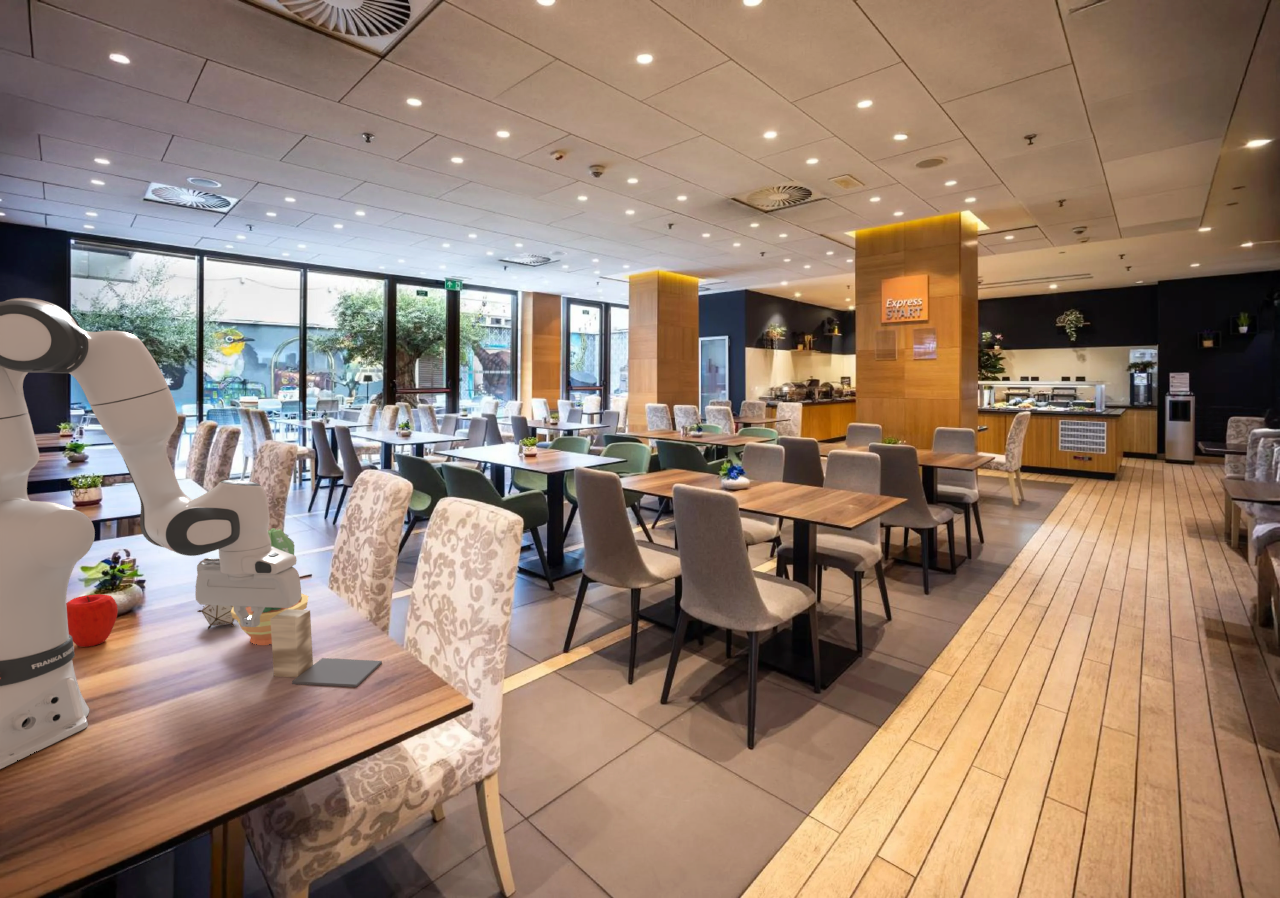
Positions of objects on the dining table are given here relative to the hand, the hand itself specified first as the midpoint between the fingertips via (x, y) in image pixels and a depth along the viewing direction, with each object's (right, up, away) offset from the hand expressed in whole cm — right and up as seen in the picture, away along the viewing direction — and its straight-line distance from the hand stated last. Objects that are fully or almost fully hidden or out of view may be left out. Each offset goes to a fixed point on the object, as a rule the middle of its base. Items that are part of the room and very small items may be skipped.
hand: (250, 625), depth 123 cm
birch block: (+9, -9, 0) cm, 13 cm away
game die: (-21, -7, +22) cm, 31 cm away
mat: (+18, -10, 0) cm, 20 cm away
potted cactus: (-5, -8, +16) cm, 19 cm away
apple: (-43, -8, +12) cm, 45 cm away
